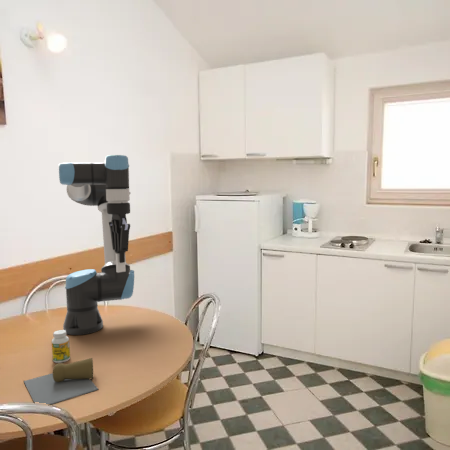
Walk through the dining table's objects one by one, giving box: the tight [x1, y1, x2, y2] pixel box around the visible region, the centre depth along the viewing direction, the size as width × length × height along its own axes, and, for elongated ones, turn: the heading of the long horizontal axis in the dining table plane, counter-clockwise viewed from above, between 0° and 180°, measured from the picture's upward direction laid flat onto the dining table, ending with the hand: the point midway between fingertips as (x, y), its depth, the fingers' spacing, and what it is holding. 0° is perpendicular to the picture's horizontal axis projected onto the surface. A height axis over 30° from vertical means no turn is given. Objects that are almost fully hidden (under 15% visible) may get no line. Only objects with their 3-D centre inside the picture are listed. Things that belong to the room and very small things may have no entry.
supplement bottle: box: [51, 329, 71, 364], centre depth 133 cm, size 5×5×10 cm
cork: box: [52, 357, 94, 382], centre depth 119 cm, size 6×6×11 cm
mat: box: [23, 372, 99, 405], centre depth 116 cm, size 18×16×1 cm
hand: (121, 271), depth 136 cm, fingers closed
